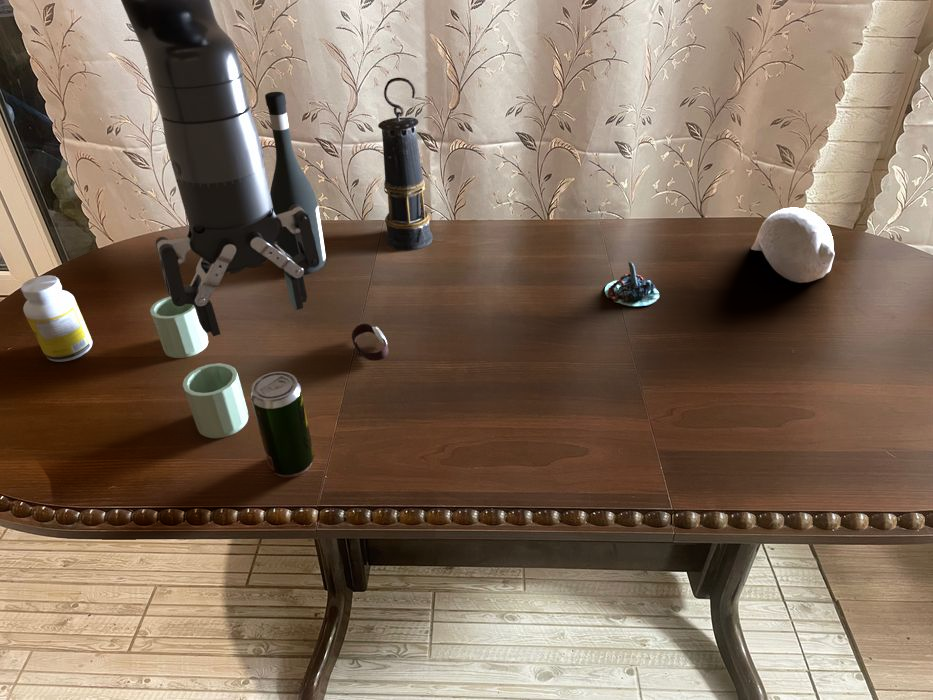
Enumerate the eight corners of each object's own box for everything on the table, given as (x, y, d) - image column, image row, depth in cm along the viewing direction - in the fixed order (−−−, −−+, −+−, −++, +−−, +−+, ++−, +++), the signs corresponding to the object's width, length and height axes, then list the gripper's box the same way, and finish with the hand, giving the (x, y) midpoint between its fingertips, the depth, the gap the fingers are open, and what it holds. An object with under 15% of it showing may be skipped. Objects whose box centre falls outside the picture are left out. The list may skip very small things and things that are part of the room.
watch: (397, 357, 96) (395, 337, 93) (368, 368, 94) (365, 347, 91) (373, 332, 101) (371, 312, 99) (345, 342, 99) (342, 322, 97)
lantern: (390, 228, 131) (377, 68, 113) (436, 229, 130) (429, 69, 112) (381, 249, 123) (365, 82, 106) (429, 251, 122) (421, 83, 105)
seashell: (753, 312, 118) (815, 275, 104) (715, 245, 120) (771, 201, 107) (810, 288, 123) (876, 251, 110) (773, 225, 126) (833, 181, 113)
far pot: (168, 363, 95) (155, 323, 91) (159, 341, 99) (146, 302, 95) (213, 349, 98) (202, 309, 93) (202, 329, 102) (191, 290, 98)
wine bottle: (310, 251, 123) (282, 84, 105) (335, 265, 118) (311, 93, 101) (273, 266, 118) (237, 94, 100) (298, 281, 114) (265, 103, 96)
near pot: (204, 445, 81) (189, 402, 77) (191, 416, 85) (177, 374, 81) (254, 426, 84) (243, 383, 80) (240, 399, 88) (228, 357, 84)
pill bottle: (64, 336, 100) (34, 270, 94) (103, 340, 100) (75, 273, 93) (35, 362, 95) (1, 293, 88) (76, 365, 94) (45, 297, 88)
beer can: (284, 486, 75) (265, 408, 68) (260, 462, 79) (239, 385, 72) (323, 463, 78) (309, 385, 71) (299, 440, 82) (282, 364, 75)
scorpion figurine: (646, 299, 103) (630, 257, 106) (609, 318, 108) (595, 277, 110) (670, 304, 109) (654, 264, 111) (634, 321, 113) (619, 283, 116)
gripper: (283, 136, 62) (309, 283, 72) (123, 167, 56) (175, 323, 66) (312, 159, 57) (336, 314, 67) (140, 196, 51) (194, 360, 61)
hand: (256, 318), depth 66 cm, fingers open, 8 cm apart
